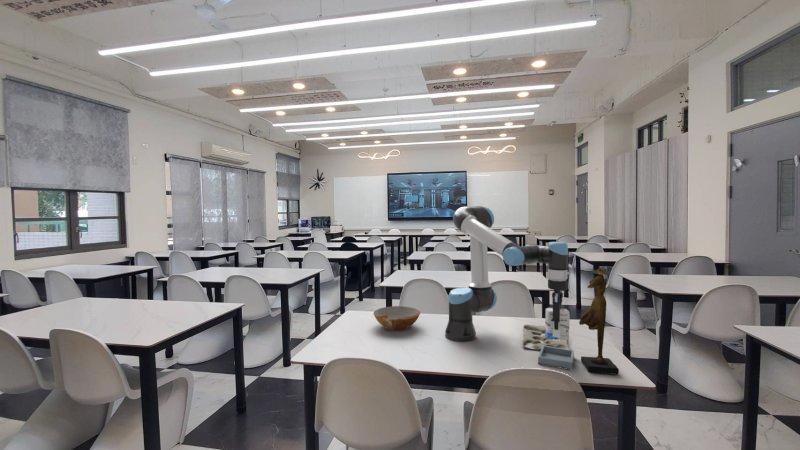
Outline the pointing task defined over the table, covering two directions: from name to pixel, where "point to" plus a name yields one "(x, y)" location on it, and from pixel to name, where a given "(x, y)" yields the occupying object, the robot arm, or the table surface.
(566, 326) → the ink box
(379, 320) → the bowl
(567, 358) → the tray
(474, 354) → the table surface
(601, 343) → the sculpture
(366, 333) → the table surface
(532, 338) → the stone relief
